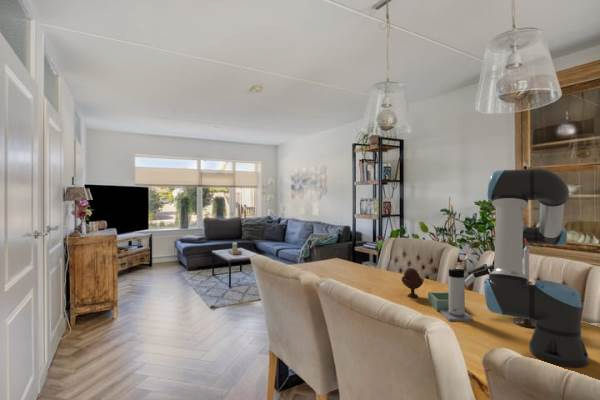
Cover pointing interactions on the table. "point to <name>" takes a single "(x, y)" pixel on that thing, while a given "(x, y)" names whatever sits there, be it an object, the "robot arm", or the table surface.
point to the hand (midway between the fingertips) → (479, 286)
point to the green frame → (439, 300)
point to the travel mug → (457, 292)
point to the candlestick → (522, 321)
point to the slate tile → (453, 318)
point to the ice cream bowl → (412, 281)
